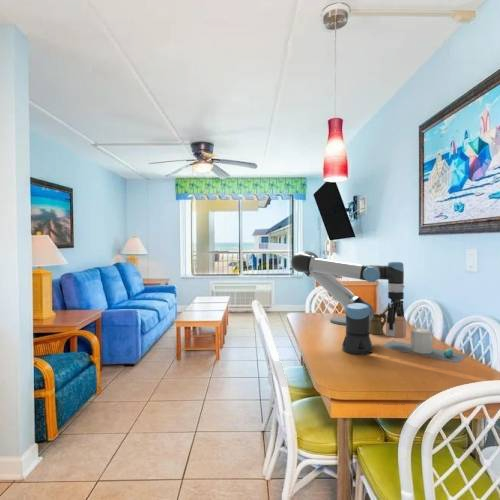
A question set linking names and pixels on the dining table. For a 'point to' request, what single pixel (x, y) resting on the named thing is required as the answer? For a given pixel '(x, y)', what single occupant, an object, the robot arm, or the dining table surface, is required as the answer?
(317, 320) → the dining table surface
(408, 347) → the board
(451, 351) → the marble
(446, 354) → the marble
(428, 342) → the cream cup
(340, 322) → the frisbee
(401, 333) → the terracotta cup
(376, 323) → the wooden mug
